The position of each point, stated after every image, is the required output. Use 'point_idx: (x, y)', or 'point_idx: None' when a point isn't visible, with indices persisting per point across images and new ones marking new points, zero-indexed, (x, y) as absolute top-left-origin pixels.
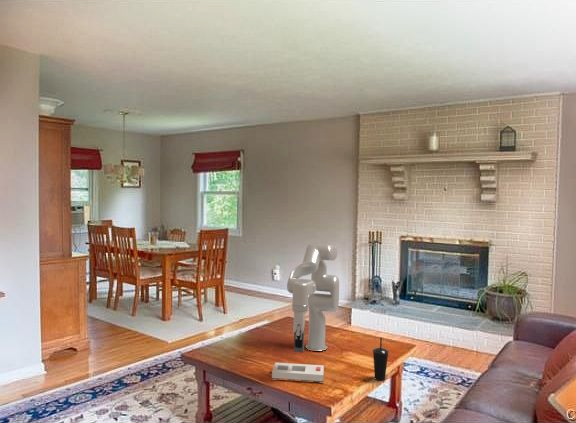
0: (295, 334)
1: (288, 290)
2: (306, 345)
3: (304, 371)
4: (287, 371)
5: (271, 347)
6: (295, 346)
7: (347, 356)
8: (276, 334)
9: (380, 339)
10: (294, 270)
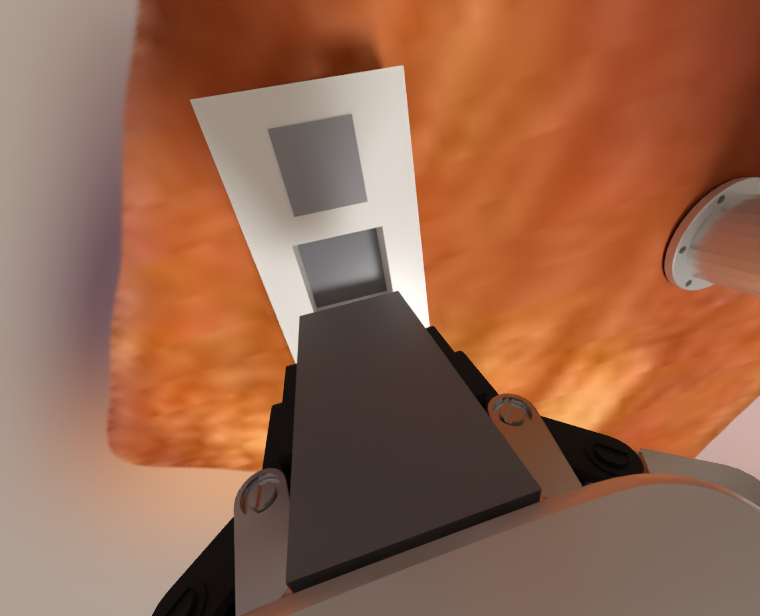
0: (299, 541)
1: None
2: (753, 182)
3: (386, 287)
4: (265, 226)
5: None
6: (286, 374)
7: (604, 372)
8: None
9: None
10: None
